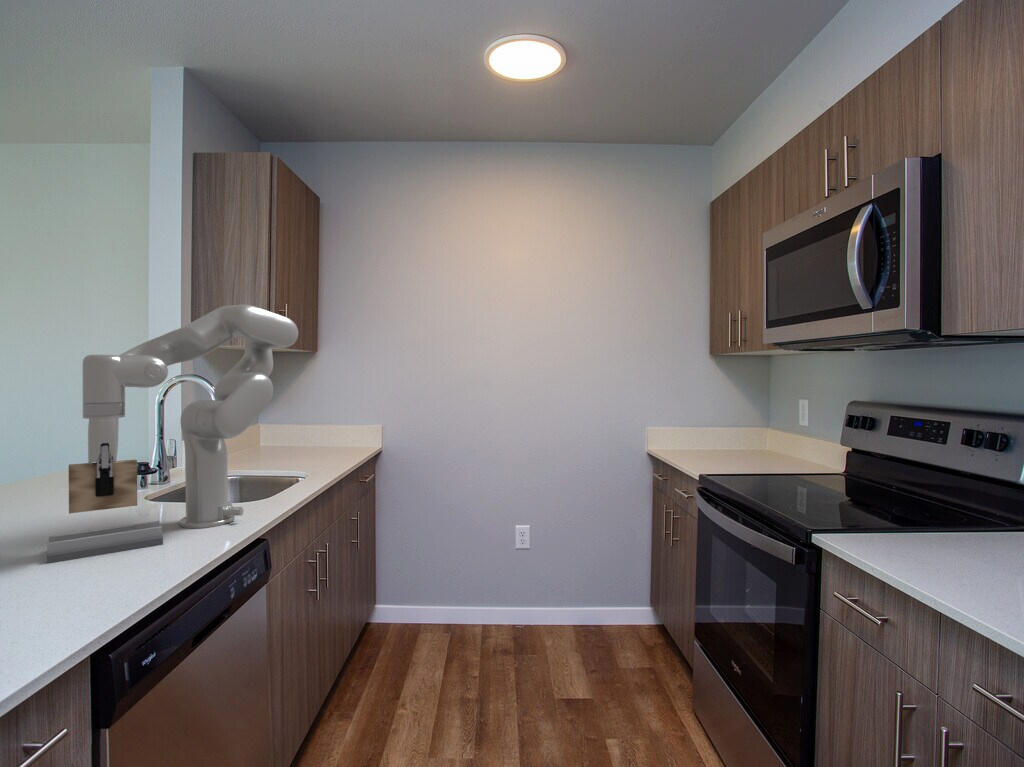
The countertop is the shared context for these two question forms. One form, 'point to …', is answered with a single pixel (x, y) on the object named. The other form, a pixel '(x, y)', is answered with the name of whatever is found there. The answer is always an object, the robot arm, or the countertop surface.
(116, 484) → the door panel
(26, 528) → the countertop surface
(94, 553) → the bottom track
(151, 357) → the robot arm
